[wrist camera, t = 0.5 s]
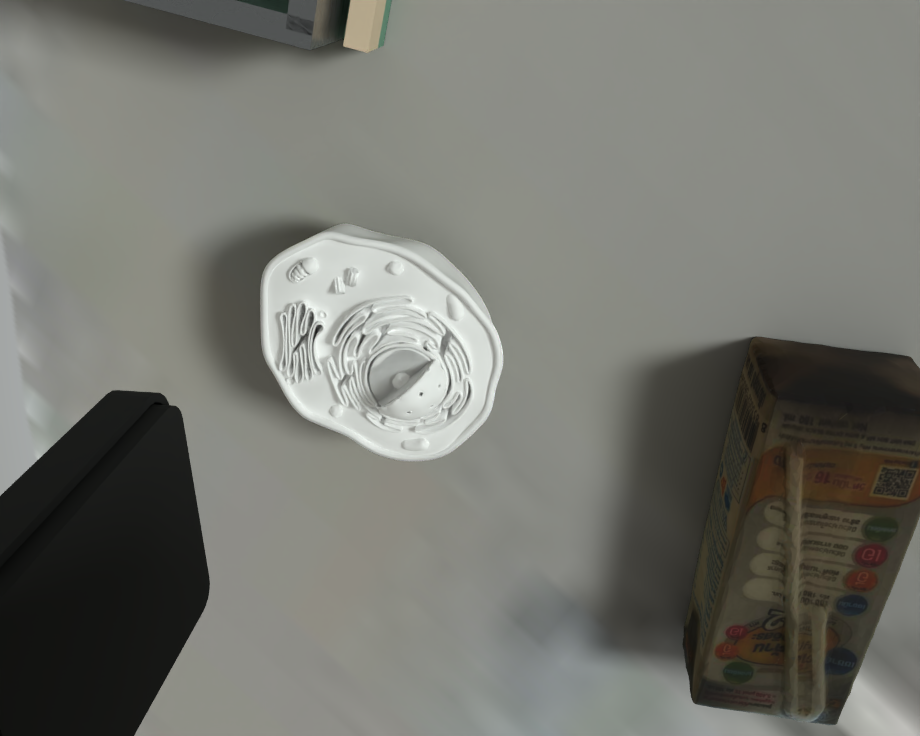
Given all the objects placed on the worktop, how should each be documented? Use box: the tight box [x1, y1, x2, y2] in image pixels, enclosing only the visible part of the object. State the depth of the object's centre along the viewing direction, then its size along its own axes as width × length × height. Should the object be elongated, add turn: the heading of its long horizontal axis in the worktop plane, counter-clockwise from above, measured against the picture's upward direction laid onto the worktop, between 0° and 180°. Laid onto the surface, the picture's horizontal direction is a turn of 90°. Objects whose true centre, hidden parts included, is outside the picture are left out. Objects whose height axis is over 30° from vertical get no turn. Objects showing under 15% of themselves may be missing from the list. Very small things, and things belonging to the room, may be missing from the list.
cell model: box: [260, 223, 503, 461], centre depth 38 cm, size 10×12×7 cm
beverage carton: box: [683, 337, 920, 725], centre depth 41 cm, size 8×19×7 cm, turn 177°
